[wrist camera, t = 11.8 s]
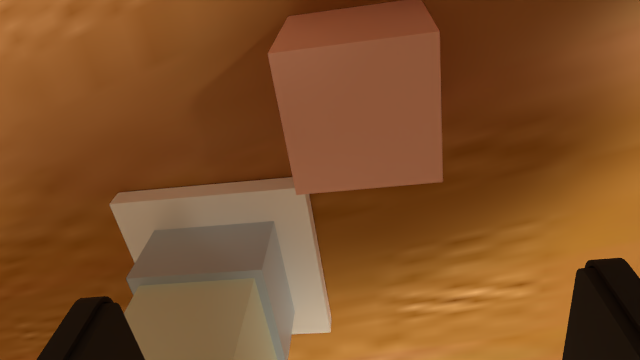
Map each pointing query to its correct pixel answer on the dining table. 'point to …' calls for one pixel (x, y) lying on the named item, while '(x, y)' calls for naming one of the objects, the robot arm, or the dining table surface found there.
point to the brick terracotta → (360, 97)
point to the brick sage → (200, 321)
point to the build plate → (238, 210)
